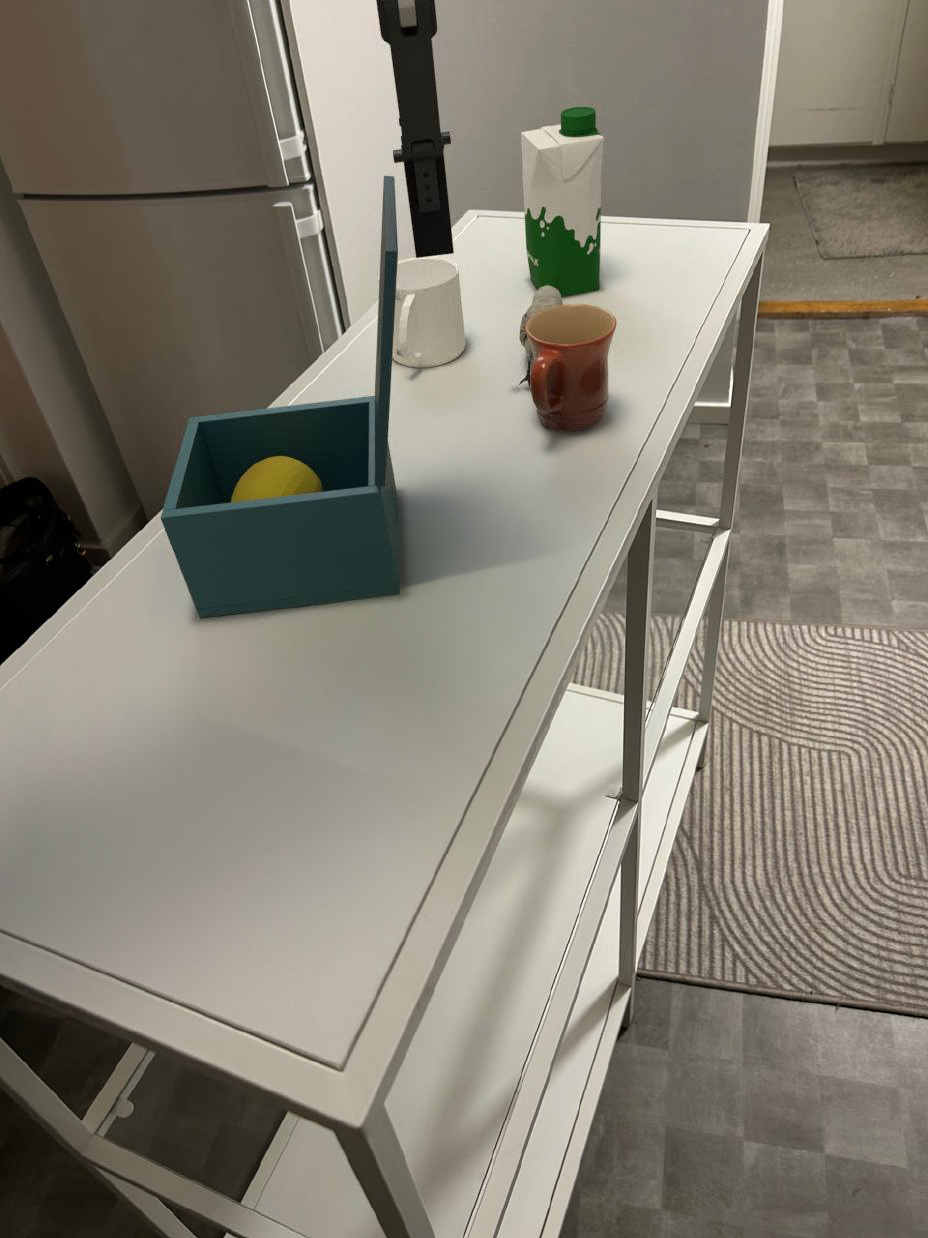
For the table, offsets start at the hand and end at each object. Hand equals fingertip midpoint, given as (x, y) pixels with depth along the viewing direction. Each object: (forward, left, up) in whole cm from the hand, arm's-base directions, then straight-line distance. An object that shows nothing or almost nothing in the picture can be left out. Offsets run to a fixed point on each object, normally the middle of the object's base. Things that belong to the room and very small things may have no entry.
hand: (434, 251), depth 66 cm
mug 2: (+11, +16, -25) cm, 32 cm away
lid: (-5, 0, -5) cm, 7 cm away
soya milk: (+16, +50, -25) cm, 58 cm away
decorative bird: (+11, +31, -25) cm, 42 cm away
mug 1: (-3, +35, -25) cm, 43 cm away
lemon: (-16, 0, -24) cm, 29 cm away
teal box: (-15, 0, -25) cm, 29 cm away
